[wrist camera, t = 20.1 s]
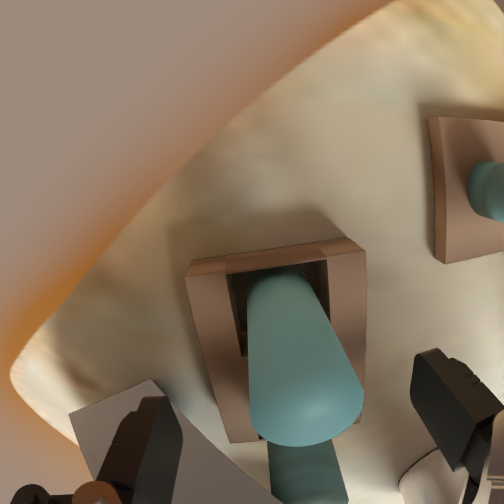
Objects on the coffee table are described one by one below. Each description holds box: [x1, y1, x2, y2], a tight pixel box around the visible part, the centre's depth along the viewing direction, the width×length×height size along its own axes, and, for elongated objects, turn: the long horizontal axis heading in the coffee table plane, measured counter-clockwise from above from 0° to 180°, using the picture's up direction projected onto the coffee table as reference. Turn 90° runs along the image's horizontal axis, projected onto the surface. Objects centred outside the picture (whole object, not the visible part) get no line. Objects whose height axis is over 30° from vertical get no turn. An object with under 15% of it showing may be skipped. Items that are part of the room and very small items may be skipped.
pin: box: [247, 264, 364, 447], centre depth 12 cm, size 3×3×9 cm
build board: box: [184, 238, 366, 504], centre depth 13 cm, size 11×8×9 cm
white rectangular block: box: [69, 379, 283, 504], centre depth 12 cm, size 6×12×6 cm
